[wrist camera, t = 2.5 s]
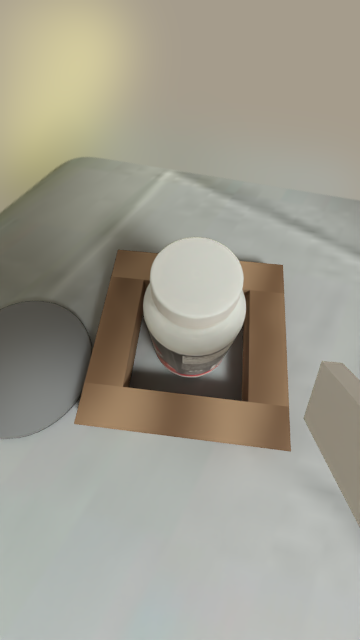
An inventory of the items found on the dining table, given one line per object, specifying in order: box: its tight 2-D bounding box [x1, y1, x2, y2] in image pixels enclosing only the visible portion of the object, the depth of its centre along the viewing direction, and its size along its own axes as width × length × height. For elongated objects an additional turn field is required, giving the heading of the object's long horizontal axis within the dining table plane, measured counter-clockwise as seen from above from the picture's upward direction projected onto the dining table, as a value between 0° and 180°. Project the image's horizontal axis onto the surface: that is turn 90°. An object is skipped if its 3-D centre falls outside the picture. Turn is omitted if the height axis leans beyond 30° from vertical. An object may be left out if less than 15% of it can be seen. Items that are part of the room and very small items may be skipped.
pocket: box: [74, 250, 291, 451], centre depth 19 cm, size 13×13×2 cm
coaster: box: [0, 301, 92, 439], centre depth 19 cm, size 10×10×1 cm
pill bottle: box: [143, 237, 246, 377], centre depth 15 cm, size 5×5×10 cm
